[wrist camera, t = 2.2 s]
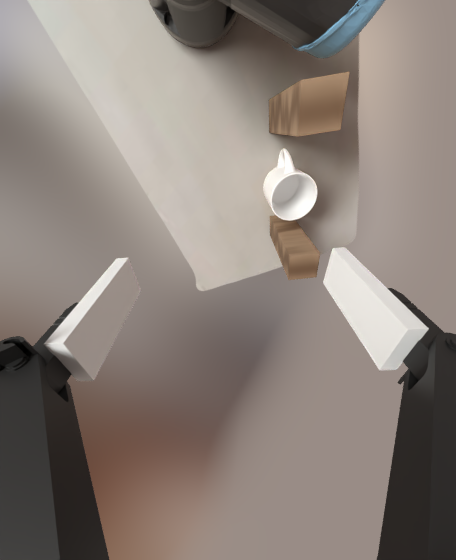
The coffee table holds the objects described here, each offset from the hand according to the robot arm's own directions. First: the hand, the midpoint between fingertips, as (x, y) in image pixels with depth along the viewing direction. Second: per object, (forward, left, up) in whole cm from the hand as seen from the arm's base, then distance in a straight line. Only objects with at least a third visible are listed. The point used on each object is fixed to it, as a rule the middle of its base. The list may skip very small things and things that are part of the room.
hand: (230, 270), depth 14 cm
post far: (+14, +12, -39) cm, 43 cm away
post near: (-8, +12, -39) cm, 41 cm away
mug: (+3, +12, -39) cm, 41 cm away
